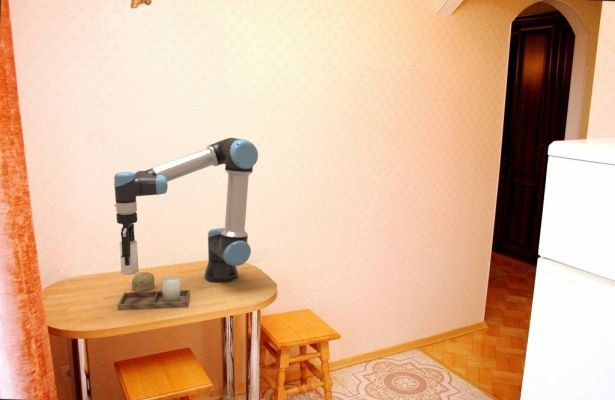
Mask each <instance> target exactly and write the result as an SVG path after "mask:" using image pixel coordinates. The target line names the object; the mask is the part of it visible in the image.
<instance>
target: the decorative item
mask: <svg viewBox="0 0 615 400" xmlns="http://www.w3.org/2000/svg"><path fill="white" fill-rule="evenodd" d="M131 280H132V281H131V288H132V291H133V292H149V291H151V290H153V289H154V286H155V276H154V274H153V273H151V272H147V271H141V272H138V273H136V274H134V276H133V278H132V279H131Z"/></svg>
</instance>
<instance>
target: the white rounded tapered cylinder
mask: <svg viewBox="0 0 615 400" xmlns="http://www.w3.org/2000/svg"><path fill="white" fill-rule="evenodd" d="M119 255H120V256H119V257H120V270H121V271H120V272H121V275H124V276H125V275H128V276H129V275H131V276H132V275H136V274H138V273H140V272H139V260H138V259H139V257H138V256H139V255H138V242H137V240H135V241H130V255H131V262H132V273H124V257H121V256H122V241H120V242H119Z"/></svg>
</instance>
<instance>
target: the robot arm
mask: <svg viewBox="0 0 615 400" xmlns="http://www.w3.org/2000/svg"><path fill="white" fill-rule="evenodd" d="M258 158H259V152H258V149H257V147H256V146H255V144H254V143H252V142H251V141H249V140H247V139H244V138H237V137H228V138H224V139H222V140H221V139H220V140H219V141H216V142H214V143H212V144H209V145H207V146H206V148H205V149H202V150H198V151H196V152H193V153H191V154H188V155H185V156H182V157H179V158H177V159H174V160H172V161H169V162H168V161H167V162H166V163H162V164H161V165H160V164H159V165H157V166H154V167H152V168H148V169H146V170H137V171H136V172H133V171H121V172H116V173H115V174H114V177H113V178H114V179H113V180H114V181H113V182H114V184H113V185H114V186H113V187H114V198H115V204H114V205H113V206H114V207H116V208H115V212H116V215H115V216H116V223H117V224H118V225H122V227H121V229H120V230H121V231H120V236H121V242H122V256H121V257H124V273H132V262H131V255H130V241H136V240H135V239H136V238H135V224H136V223H137V222H138V213H137V211H138V207H137V206H138V203H137V197H143V196H144V197H146V196H159V195H165V194H167V192H168V182H171V181H173V180H175V179H179V178H181V177H184V176H187V175H190V174H193V173H195V172H197V171H200V170H204V169H206V168H209V167H211V166H213V167H218V166H222V165H225V166H224V167H225V168H224V171H225V173H227V174H228V175H227V176H228V177H227V191H226V205H225V220H224V221H225V222H224V227H218V228H213V229H209V231H208V234H207V250H208V251H207V252H208V254H207V255H208V257H207V258H208V260H207V265H206V268H205V271H204V279H205V280H206V281H208V282H211V283H220V284H221V283H222V284H223V283H230V282H234V281H236V280H237V279H238V278H239V271H238V269H237V268H238V267H240V266H242V265H244V264H245V263H246V262H247V261H248V260H249V259H250V257H251V252H252V249H251V246H250V244H249V243H248V238H249V234H248V232H247V231H246V229H245V228H246V218H247V217H246V216H247V203H248V202H247V201H248V189H249V177H250V175H251V174H252V173H253V172H254V171H253V170H254V169H253V168H254V166H255V164H257V162H258V160H259V159H258Z"/></svg>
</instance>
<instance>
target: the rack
mask: <svg viewBox="0 0 615 400" xmlns="http://www.w3.org/2000/svg"><path fill="white" fill-rule="evenodd" d="M190 291H191V290H190V289H182V290H181V289H180V297H181V301H180V302H164V303H163V301H162V290H160V291H156V290H155V291H143V292H137V291H130V292H127V291H126V292H123V294H122V296H121V298H120V300H119V302H118V304H117V311H128V310H152V309H154V310H155V309H156V310H157V309H159V310H160V309H175V308H176V309H179V308H183V309H184V308H188V307H189V303H190V295H191V292H190Z"/></svg>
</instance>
